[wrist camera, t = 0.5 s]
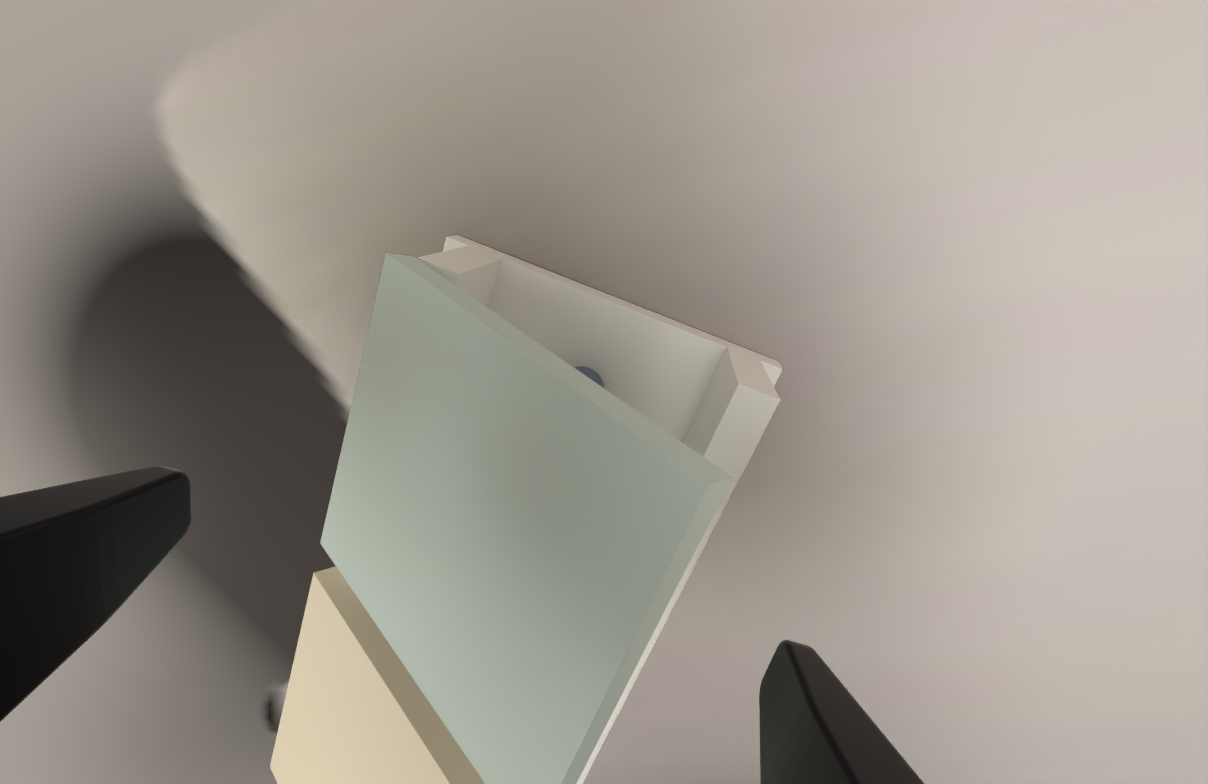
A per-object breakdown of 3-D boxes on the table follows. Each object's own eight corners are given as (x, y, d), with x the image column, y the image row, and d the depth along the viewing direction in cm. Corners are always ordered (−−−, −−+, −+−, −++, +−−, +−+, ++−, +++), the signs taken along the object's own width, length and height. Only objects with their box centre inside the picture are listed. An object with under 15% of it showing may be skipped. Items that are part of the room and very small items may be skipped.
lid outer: (555, 824, 13) (529, 848, 12) (345, 536, 18) (320, 543, 18) (732, 477, 10) (709, 485, 9) (413, 256, 15) (385, 252, 15)
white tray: (586, 743, 27) (566, 859, 22) (346, 649, 27) (276, 746, 22) (777, 361, 20) (808, 411, 15) (457, 234, 20) (389, 246, 15)
